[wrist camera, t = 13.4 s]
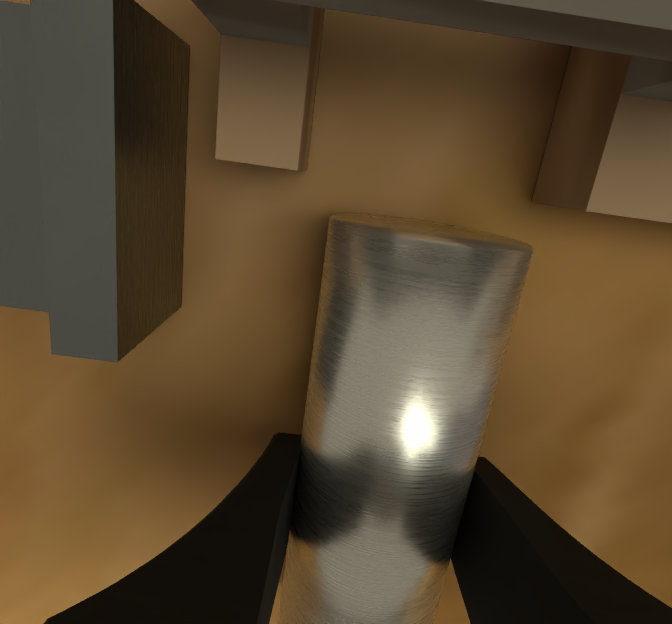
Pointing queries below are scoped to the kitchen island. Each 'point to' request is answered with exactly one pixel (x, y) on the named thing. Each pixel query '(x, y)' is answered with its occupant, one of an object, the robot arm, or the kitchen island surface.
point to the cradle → (92, 170)
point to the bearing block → (488, 17)
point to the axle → (395, 413)
